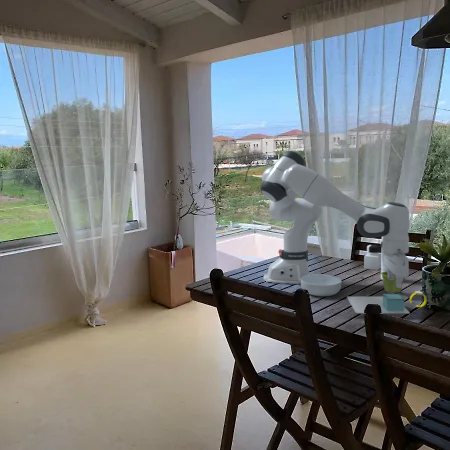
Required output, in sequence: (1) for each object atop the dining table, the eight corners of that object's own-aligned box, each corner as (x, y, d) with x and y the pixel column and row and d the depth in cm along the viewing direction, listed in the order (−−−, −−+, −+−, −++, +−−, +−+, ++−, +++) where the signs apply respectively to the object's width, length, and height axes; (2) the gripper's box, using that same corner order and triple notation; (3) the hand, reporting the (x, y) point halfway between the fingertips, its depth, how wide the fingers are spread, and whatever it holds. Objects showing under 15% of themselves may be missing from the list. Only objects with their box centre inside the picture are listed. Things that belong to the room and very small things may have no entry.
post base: (356, 316, 158) (356, 303, 158) (346, 300, 177) (346, 288, 176) (410, 317, 157) (410, 303, 156) (394, 300, 175) (395, 288, 174)
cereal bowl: (315, 304, 174) (315, 287, 172) (293, 292, 189) (293, 277, 188) (349, 297, 180) (350, 281, 179) (325, 287, 195) (325, 272, 194)
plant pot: (377, 290, 188) (378, 271, 187) (399, 290, 188) (400, 270, 187) (384, 297, 179) (385, 277, 178) (408, 297, 179) (408, 276, 177)
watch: (423, 306, 169) (425, 291, 168) (426, 308, 166) (428, 293, 165) (408, 305, 169) (409, 290, 168) (410, 307, 166) (412, 292, 165)
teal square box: (403, 310, 159) (404, 299, 158) (386, 310, 160) (387, 298, 159) (398, 305, 165) (399, 293, 164) (382, 305, 165) (382, 293, 165)
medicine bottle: (381, 267, 227) (382, 244, 225) (378, 270, 221) (378, 247, 219) (367, 265, 230) (368, 243, 229) (363, 268, 225) (364, 246, 223)
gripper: (414, 253, 148) (412, 292, 151) (396, 241, 168) (395, 275, 171) (395, 253, 149) (394, 292, 151) (379, 241, 169) (378, 275, 171)
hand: (394, 283), depth 161 cm, fingers open, 8 cm apart
